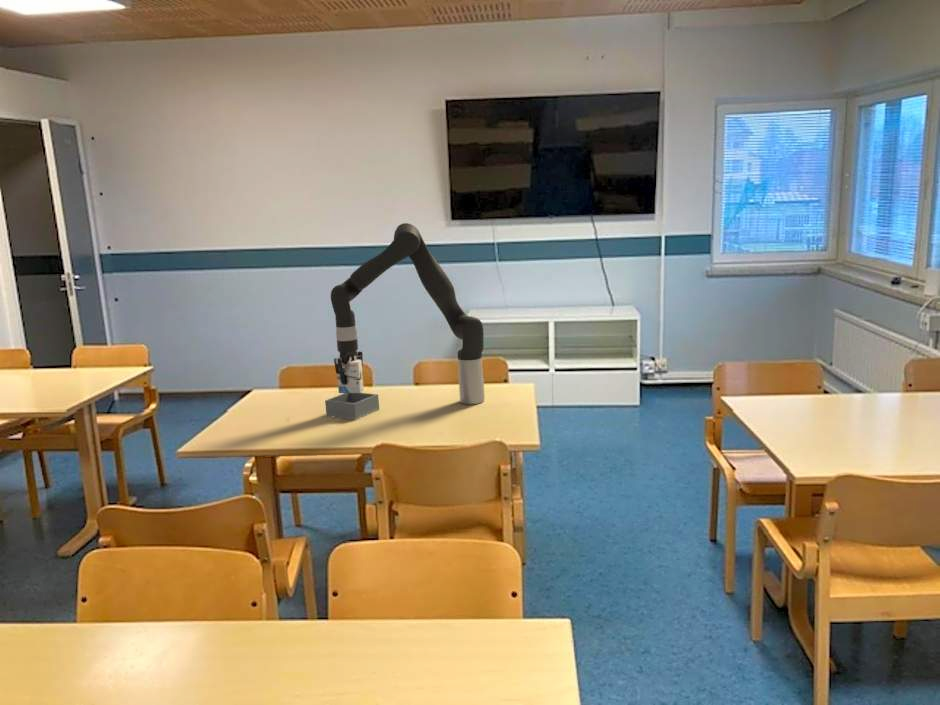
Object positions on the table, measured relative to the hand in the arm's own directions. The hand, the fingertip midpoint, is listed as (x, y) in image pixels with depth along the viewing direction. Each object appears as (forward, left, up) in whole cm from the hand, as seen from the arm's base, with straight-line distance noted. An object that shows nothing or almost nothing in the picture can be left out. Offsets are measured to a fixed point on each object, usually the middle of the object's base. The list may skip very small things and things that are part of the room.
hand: (350, 382), depth 273 cm
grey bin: (0, 0, -12) cm, 12 cm away
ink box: (0, 0, -4) cm, 4 cm away
